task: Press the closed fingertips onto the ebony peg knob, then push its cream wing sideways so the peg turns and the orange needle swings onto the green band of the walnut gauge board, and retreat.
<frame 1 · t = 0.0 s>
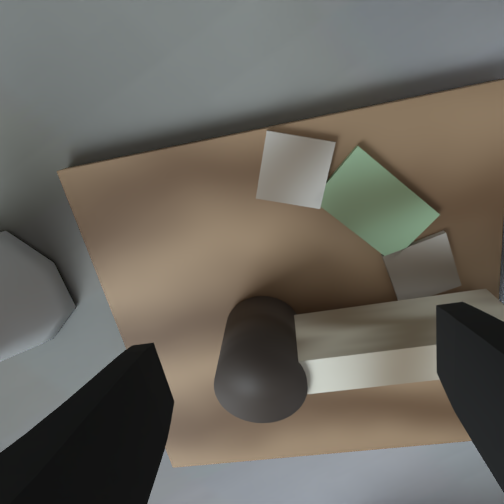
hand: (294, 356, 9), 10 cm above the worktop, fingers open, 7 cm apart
flask: (14, 288, 21), on the worktop
peg: (368, 343, 17), point 3 cm above the worktop, hinge at 0.0°
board: (298, 311, 21), on the worktop
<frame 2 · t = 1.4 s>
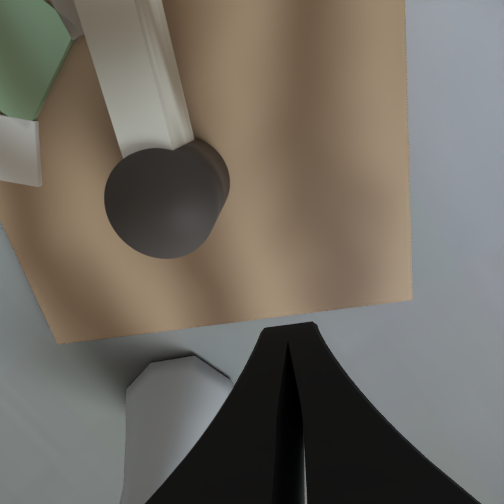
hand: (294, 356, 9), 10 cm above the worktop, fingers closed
flask: (186, 396, 24), on the worktop
peg: (138, 57, 13), point 4 cm above the worktop, hinge at 0.0°
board: (182, 134, 17), on the worktop
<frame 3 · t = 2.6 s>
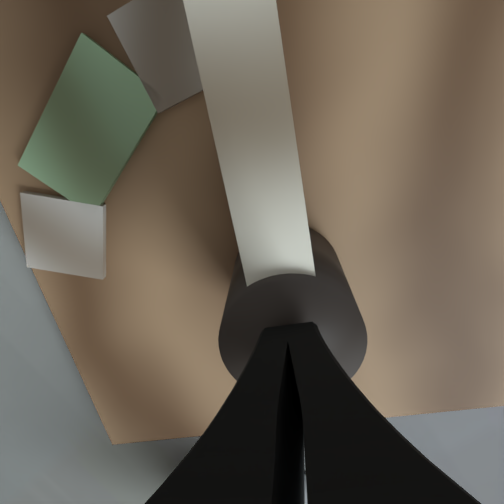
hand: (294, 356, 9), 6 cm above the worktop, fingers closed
peg: (260, 147, 10), point 4 cm above the worktop, hinge at 0.0°
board: (277, 214, 14), on the worktop
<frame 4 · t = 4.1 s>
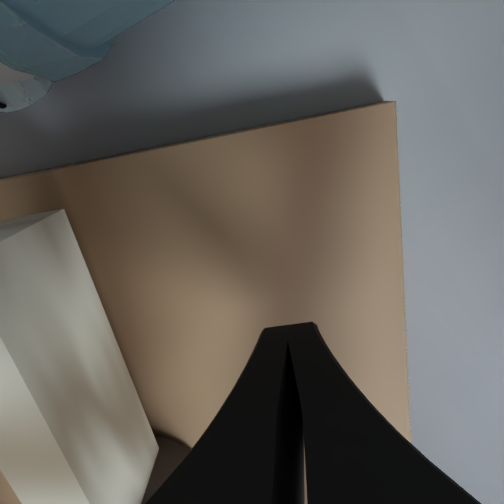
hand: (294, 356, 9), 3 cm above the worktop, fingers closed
peg: (80, 426, 11), point 4 cm above the worktop, hinge at 0.0°
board: (148, 410, 15), on the worktop
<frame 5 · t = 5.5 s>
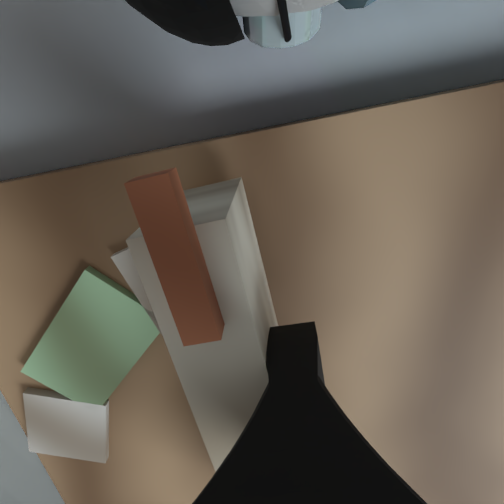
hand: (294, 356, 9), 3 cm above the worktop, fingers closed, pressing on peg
peg: (257, 410, 10), point 3 cm above the worktop, hinge at 2.4°, touching gripper
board: (279, 398, 14), on the worktop
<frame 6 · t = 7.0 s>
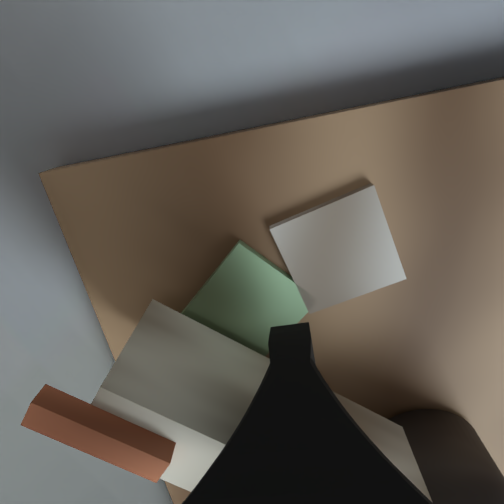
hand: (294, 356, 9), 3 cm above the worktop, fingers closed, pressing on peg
peg: (311, 452, 10), point 4 cm above the worktop, hinge at 48.6°, touching gripper
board: (407, 384, 14), on the worktop
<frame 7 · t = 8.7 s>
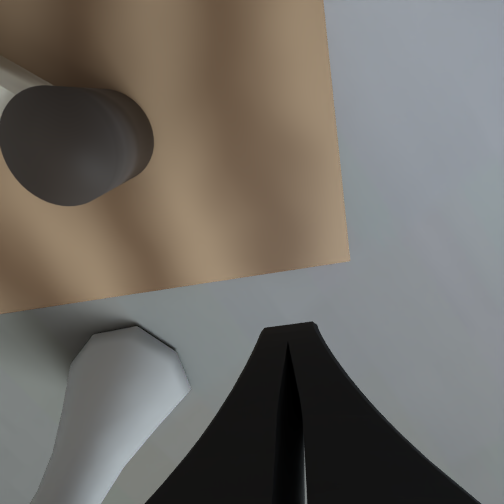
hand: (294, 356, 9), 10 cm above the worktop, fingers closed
flask: (134, 370, 24), on the worktop
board: (106, 90, 17), on the worktop
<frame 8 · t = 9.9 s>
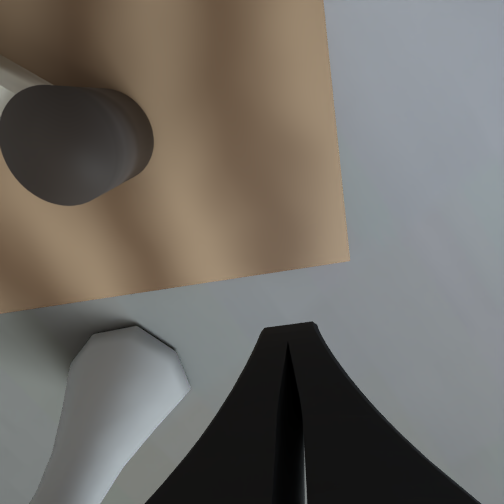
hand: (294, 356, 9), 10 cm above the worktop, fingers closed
flask: (133, 370, 24), on the worktop
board: (106, 89, 17), on the worktop
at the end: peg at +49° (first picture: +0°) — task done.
